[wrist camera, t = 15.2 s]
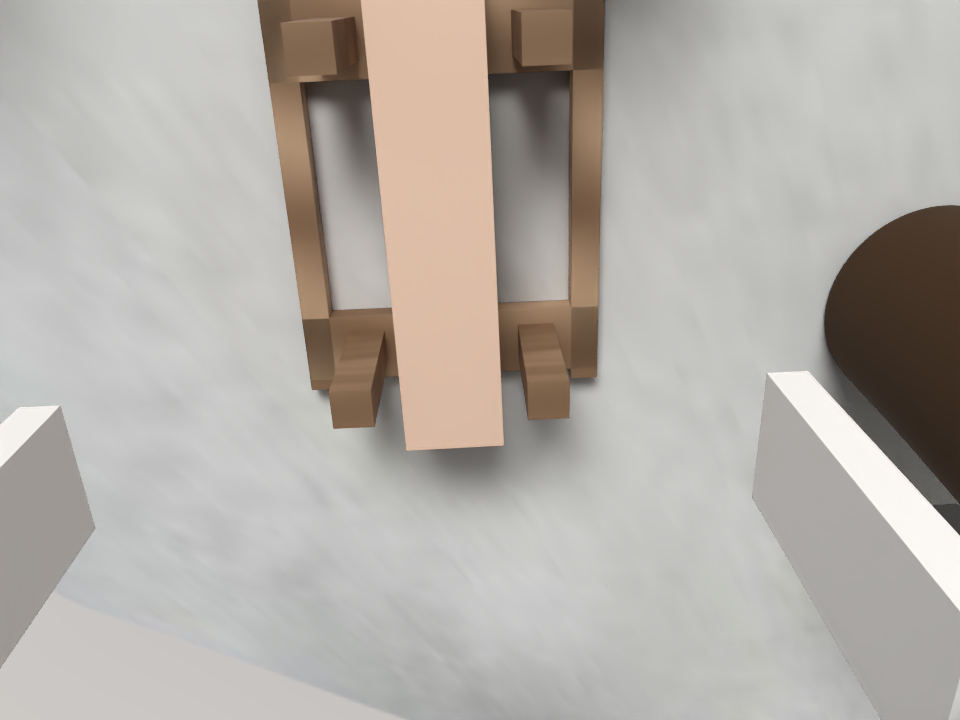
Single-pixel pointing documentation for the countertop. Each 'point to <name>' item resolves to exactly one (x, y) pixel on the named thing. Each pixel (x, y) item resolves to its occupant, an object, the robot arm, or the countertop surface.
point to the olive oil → (906, 331)
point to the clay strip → (438, 215)
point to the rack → (522, 325)
